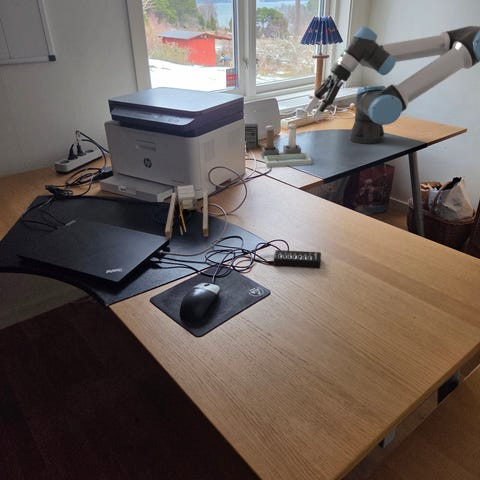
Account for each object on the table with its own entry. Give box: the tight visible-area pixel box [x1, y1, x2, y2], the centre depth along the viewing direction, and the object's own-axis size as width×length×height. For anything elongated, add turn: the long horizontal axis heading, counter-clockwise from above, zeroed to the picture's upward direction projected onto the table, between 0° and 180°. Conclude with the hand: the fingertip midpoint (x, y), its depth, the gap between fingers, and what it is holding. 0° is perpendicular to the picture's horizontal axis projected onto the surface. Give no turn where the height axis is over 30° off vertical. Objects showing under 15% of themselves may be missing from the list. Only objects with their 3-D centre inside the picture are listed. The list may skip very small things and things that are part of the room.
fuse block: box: [261, 144, 302, 160], centre depth 173 cm, size 16×7×4 cm, turn 94°
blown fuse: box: [265, 125, 275, 151], centre depth 170 cm, size 3×3×12 cm
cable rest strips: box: [164, 190, 209, 240], centre depth 127 cm, size 11×28×2 cm, turn 4°
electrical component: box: [177, 184, 198, 236], centre depth 126 cm, size 24×6×5 cm, turn 10°
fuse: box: [287, 123, 298, 149], centre depth 171 cm, size 3×3×12 cm
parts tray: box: [263, 152, 313, 168], centre depth 165 cm, size 17×9×2 cm, turn 94°
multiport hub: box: [273, 249, 322, 270], centre depth 101 cm, size 4×11×2 cm, turn 80°
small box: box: [244, 123, 259, 149], centre depth 185 cm, size 11×6×10 cm, turn 84°
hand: (311, 114), depth 172 cm, fingers open, 13 cm apart
